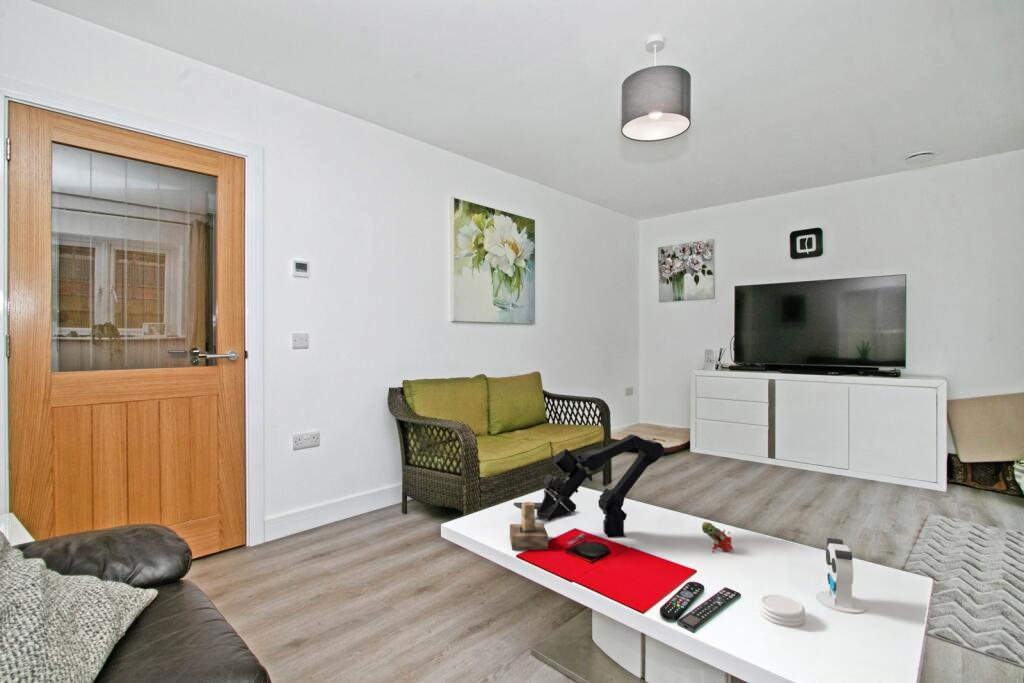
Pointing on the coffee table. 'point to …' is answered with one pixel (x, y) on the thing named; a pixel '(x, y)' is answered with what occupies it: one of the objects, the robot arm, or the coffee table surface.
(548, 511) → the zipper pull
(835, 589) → the panda figurine
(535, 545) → the post foot
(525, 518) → the rail post
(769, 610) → the coaster
